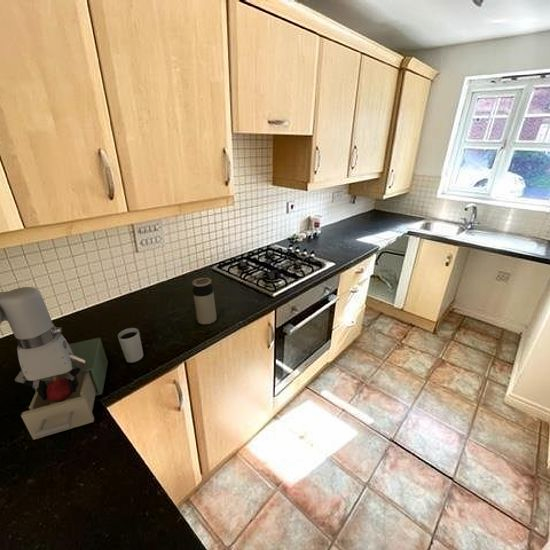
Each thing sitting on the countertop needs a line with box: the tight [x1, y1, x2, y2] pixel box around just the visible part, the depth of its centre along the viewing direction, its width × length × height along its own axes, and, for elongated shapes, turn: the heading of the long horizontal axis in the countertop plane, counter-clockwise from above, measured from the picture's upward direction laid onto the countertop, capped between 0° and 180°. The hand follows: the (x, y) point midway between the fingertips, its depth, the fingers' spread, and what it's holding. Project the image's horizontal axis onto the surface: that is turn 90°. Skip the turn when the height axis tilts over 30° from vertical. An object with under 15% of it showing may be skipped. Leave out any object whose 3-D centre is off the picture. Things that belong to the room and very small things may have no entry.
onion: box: [46, 376, 72, 402], centre depth 80 cm, size 6×6×8 cm
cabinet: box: [34, 337, 109, 397], centre depth 93 cm, size 16×15×10 cm
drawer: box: [20, 371, 97, 441], centre depth 80 cm, size 20×14×8 cm
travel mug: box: [191, 277, 218, 325], centre depth 123 cm, size 8×8×18 cm
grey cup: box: [117, 327, 144, 363], centre depth 104 cm, size 7×7×10 cm
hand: (60, 392), depth 80 cm, fingers closed on onion, 5 cm apart
